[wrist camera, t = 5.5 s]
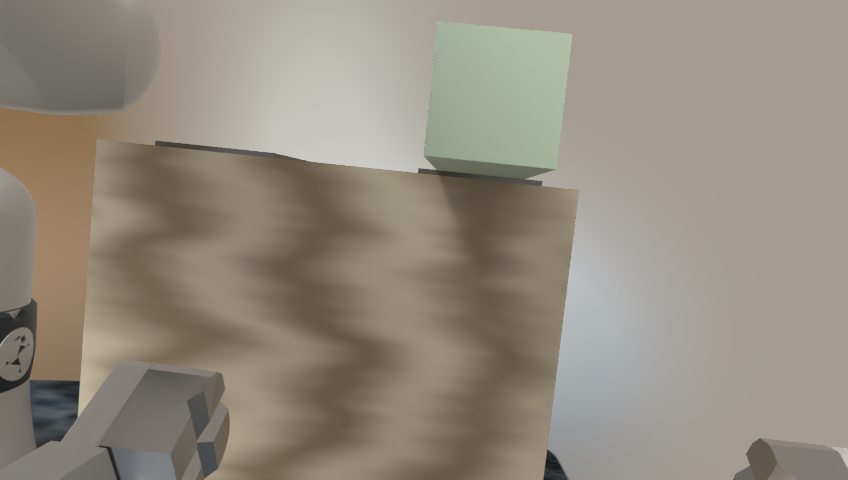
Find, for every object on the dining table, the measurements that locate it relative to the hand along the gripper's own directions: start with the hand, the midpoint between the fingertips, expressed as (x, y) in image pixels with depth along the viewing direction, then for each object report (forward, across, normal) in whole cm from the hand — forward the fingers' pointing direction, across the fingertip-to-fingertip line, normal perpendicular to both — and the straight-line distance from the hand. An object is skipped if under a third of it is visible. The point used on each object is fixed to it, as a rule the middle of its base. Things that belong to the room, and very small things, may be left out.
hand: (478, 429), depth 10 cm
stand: (+8, +6, +29) cm, 31 cm away
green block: (+19, 0, +6) cm, 20 cm away
